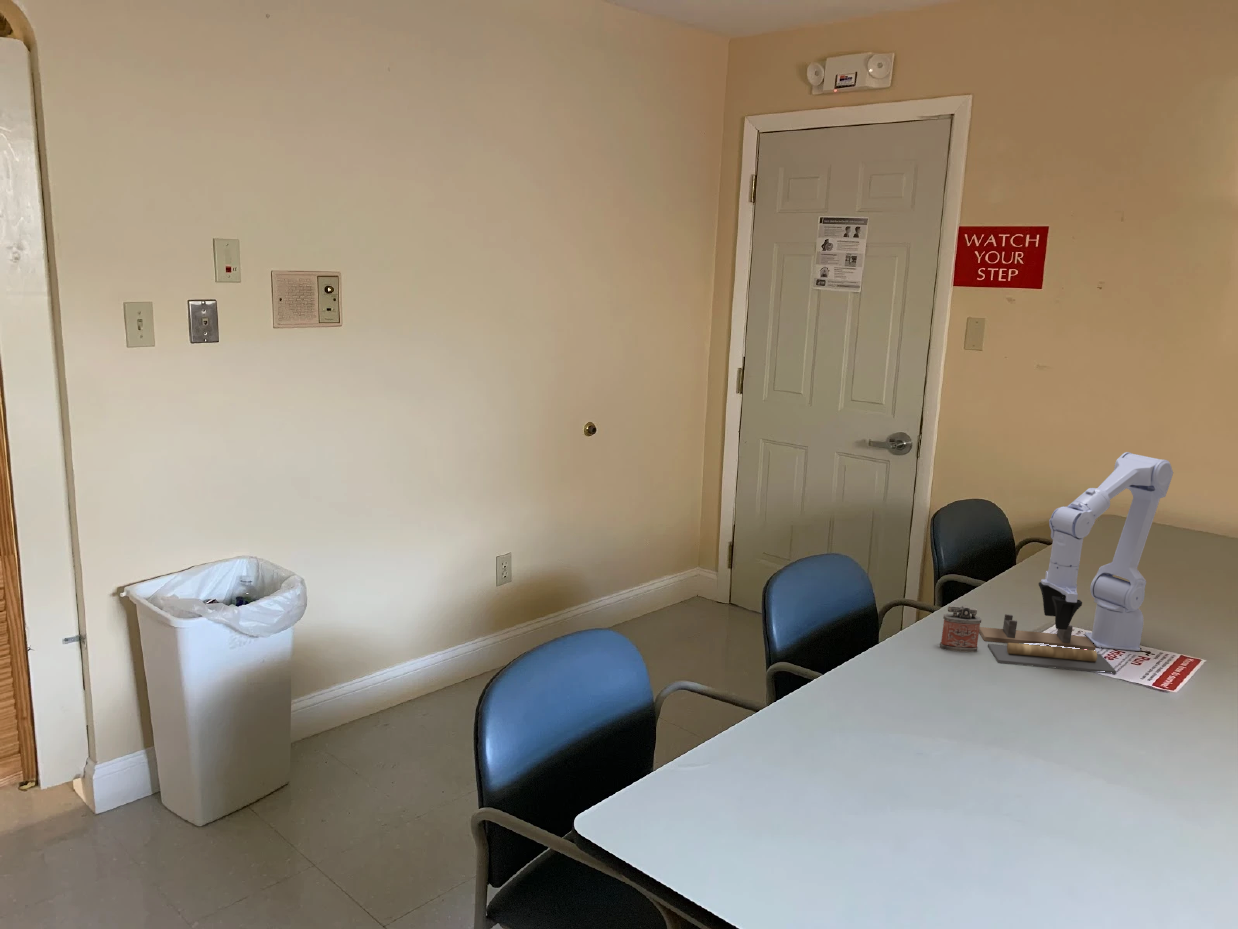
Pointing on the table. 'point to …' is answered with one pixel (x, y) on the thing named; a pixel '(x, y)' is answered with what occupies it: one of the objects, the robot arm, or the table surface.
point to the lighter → (960, 629)
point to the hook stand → (1034, 636)
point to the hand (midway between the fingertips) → (1055, 622)
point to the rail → (1052, 652)
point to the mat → (1049, 660)
